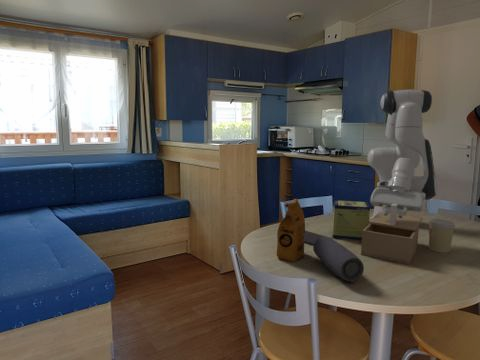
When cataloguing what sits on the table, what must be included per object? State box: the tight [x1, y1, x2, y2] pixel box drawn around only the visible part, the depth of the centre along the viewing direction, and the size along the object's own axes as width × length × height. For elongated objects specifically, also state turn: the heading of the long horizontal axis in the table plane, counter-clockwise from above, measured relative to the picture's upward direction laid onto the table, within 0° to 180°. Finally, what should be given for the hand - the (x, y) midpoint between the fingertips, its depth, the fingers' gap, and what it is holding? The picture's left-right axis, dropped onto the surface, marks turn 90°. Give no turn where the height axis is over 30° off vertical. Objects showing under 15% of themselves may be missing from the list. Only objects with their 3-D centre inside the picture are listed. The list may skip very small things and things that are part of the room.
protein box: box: [331, 200, 371, 241], centre depth 176 cm, size 10×16×16 cm
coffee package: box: [276, 198, 306, 262], centre depth 149 cm, size 10×12×22 cm
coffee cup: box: [428, 218, 456, 254], centre depth 160 cm, size 9×9×12 cm
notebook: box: [304, 230, 333, 247], centre depth 174 cm, size 13×2×21 cm
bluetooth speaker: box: [312, 235, 365, 282], centre depth 136 cm, size 23×9×10 cm, turn 12°
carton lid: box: [369, 204, 423, 231], centre depth 163 cm, size 20×18×9 cm
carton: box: [360, 224, 420, 265], centre depth 156 cm, size 20×18×10 cm
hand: (393, 216), depth 156 cm, fingers open, 4 cm apart
